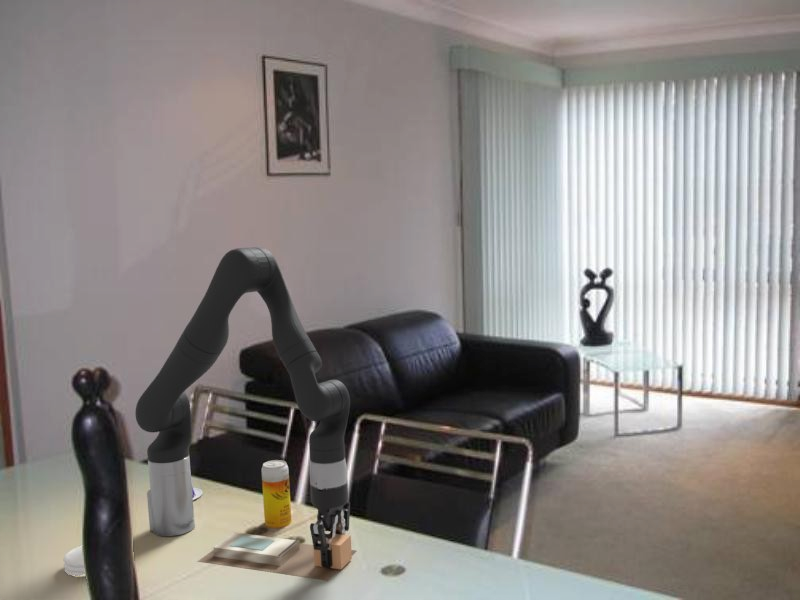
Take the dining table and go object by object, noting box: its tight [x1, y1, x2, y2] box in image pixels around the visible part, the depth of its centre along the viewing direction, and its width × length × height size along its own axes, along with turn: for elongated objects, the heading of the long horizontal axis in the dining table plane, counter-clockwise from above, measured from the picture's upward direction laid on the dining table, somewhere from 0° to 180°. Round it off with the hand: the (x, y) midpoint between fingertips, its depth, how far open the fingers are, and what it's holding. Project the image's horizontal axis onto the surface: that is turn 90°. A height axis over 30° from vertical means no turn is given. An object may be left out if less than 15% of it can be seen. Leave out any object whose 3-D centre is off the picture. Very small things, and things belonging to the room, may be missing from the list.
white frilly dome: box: [63, 545, 85, 576], centre depth 176 cm, size 10×10×4 cm
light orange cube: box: [313, 531, 353, 570], centre depth 170 cm, size 6×5×5 cm
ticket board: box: [197, 532, 357, 581], centre depth 175 cm, size 30×14×3 cm, turn 68°
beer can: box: [261, 459, 292, 529], centre depth 192 cm, size 6×6×15 cm
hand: (333, 560), depth 170 cm, fingers closed on light orange cube, 5 cm apart
